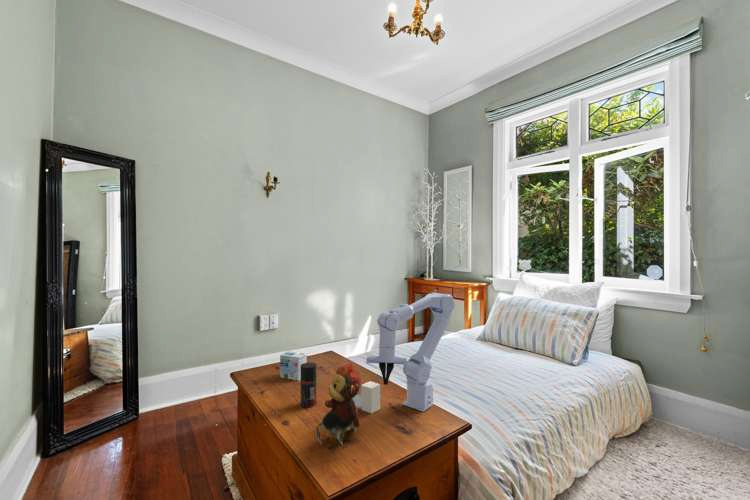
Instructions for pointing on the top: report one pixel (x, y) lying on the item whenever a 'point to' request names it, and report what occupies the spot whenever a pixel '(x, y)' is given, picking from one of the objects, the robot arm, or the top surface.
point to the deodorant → (308, 385)
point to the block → (370, 397)
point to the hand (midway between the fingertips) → (385, 383)
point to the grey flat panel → (357, 401)
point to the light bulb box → (292, 365)
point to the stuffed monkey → (342, 402)
